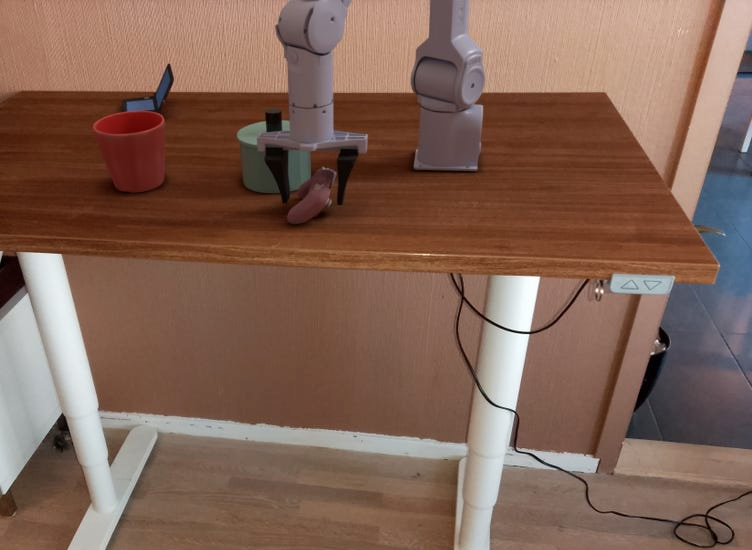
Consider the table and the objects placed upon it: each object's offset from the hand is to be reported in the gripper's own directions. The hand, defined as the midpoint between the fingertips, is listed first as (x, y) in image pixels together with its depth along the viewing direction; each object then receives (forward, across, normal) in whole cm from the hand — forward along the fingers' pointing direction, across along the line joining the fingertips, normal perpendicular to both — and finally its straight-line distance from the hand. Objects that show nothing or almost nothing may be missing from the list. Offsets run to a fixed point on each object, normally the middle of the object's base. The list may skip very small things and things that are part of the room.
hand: (313, 201), depth 100 cm
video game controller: (+2, 0, 0) cm, 2 cm away
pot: (+2, -8, +11) cm, 13 cm away
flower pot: (+2, -29, +8) cm, 30 cm away
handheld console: (+2, -40, +44) cm, 59 cm away
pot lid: (-5, -8, +11) cm, 14 cm away
